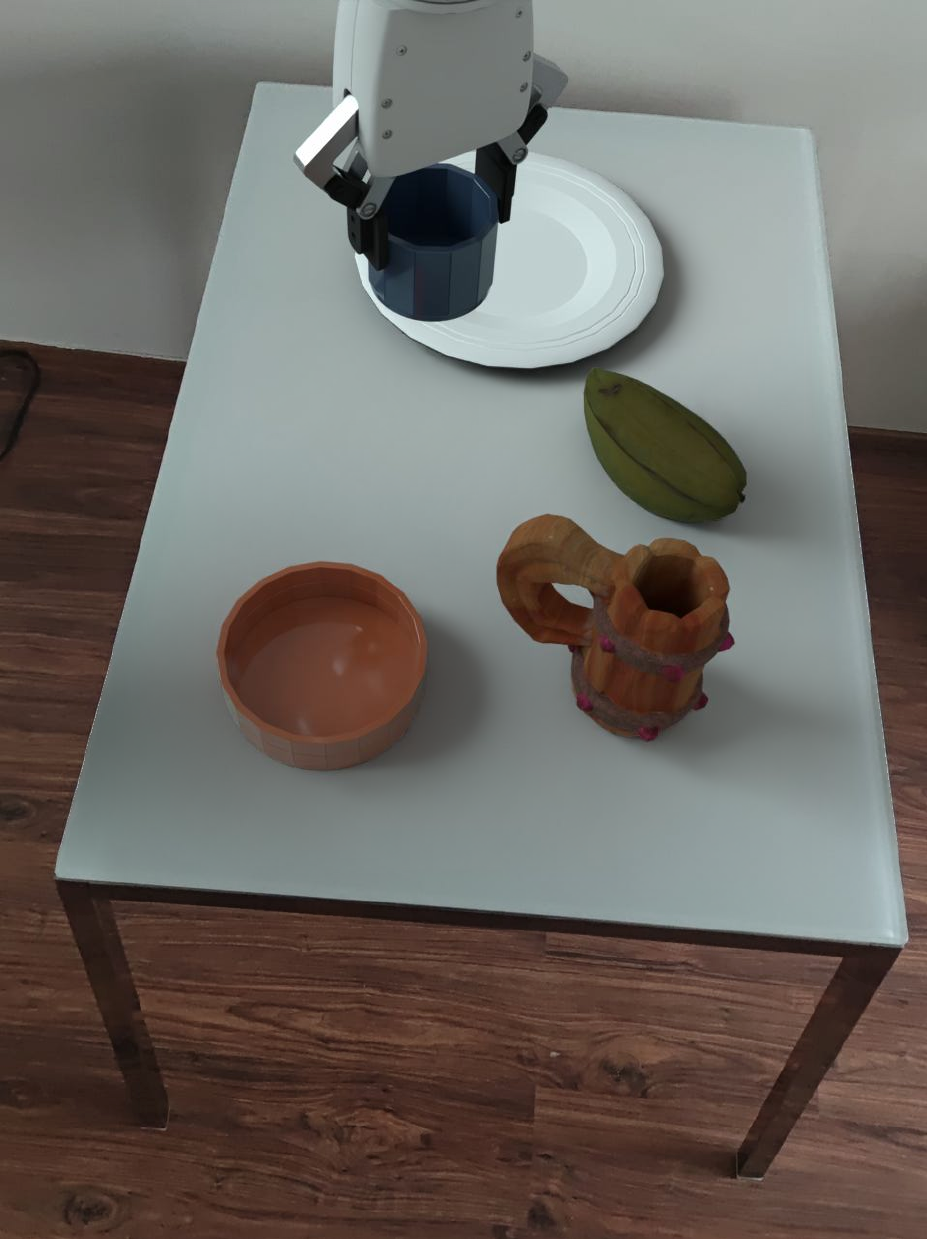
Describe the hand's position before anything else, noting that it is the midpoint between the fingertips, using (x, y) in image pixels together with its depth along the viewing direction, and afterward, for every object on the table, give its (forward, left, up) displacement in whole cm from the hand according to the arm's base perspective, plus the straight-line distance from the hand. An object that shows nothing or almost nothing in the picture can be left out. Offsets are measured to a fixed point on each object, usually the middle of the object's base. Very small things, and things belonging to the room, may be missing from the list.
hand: (431, 230), depth 72 cm
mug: (0, -22, -20) cm, 30 cm away
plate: (+16, +13, -20) cm, 29 cm away
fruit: (+14, -10, -20) cm, 27 cm away
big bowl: (-15, -13, -20) cm, 29 cm away
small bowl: (0, 0, -4) cm, 4 cm away
